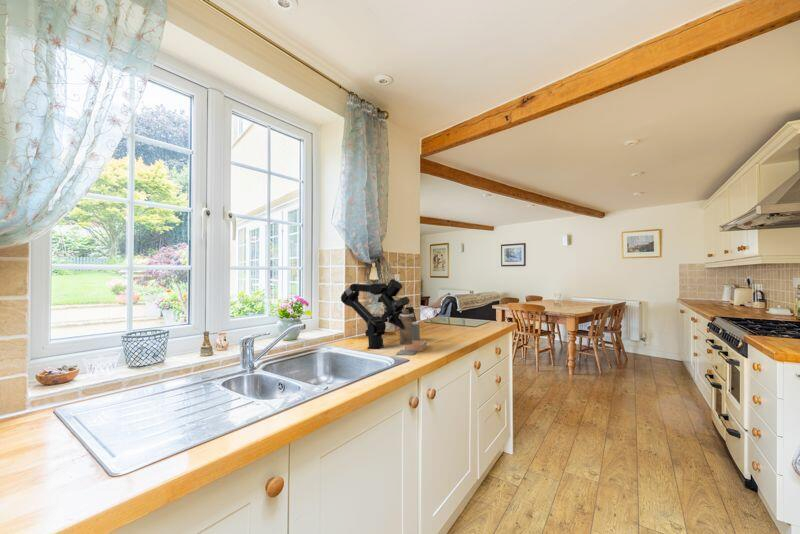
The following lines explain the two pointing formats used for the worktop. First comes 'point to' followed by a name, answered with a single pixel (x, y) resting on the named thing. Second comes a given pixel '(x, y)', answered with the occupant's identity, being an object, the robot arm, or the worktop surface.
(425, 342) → the holder
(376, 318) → the robot arm
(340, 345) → the worktop surface
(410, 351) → the slate coaster
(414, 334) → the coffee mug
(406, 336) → the pepper mill
